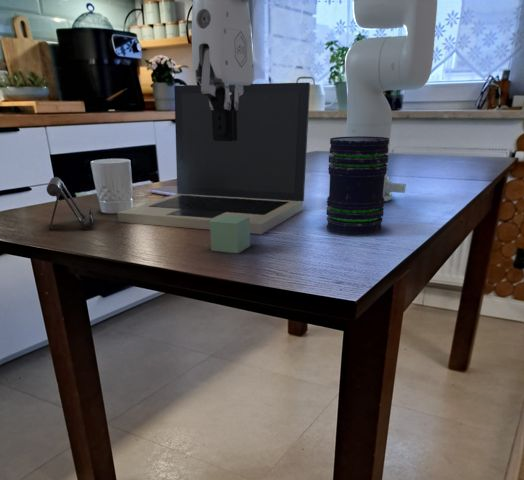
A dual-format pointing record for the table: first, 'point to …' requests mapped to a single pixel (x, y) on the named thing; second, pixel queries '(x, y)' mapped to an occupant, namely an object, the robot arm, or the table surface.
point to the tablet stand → (56, 190)
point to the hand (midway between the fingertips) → (225, 140)
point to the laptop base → (211, 211)
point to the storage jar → (356, 185)
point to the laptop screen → (244, 143)
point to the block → (230, 234)
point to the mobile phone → (165, 190)
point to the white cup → (113, 184)
